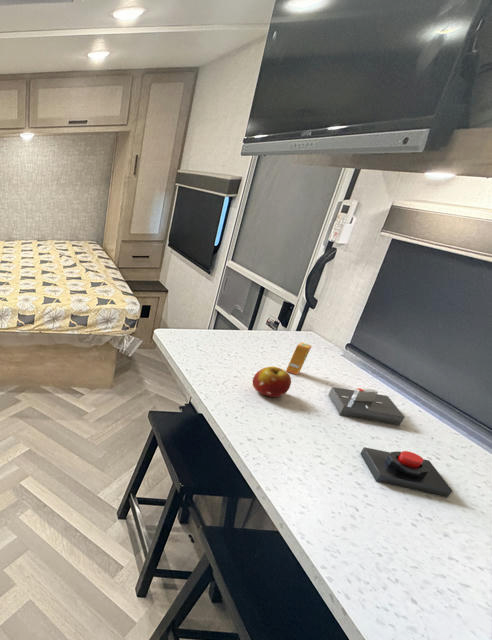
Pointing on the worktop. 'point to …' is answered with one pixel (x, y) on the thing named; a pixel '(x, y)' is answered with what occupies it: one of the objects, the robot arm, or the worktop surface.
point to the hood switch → (404, 473)
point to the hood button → (410, 459)
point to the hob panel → (366, 407)
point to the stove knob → (364, 395)
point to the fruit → (272, 381)
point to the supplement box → (298, 358)
